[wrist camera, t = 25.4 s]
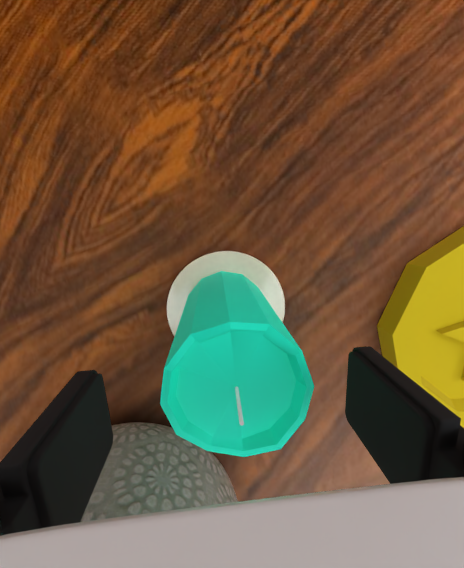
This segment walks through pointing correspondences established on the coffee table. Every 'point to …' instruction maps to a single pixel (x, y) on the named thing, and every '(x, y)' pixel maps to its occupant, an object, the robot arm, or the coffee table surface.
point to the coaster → (227, 263)
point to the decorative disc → (430, 322)
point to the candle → (234, 371)
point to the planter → (156, 474)
